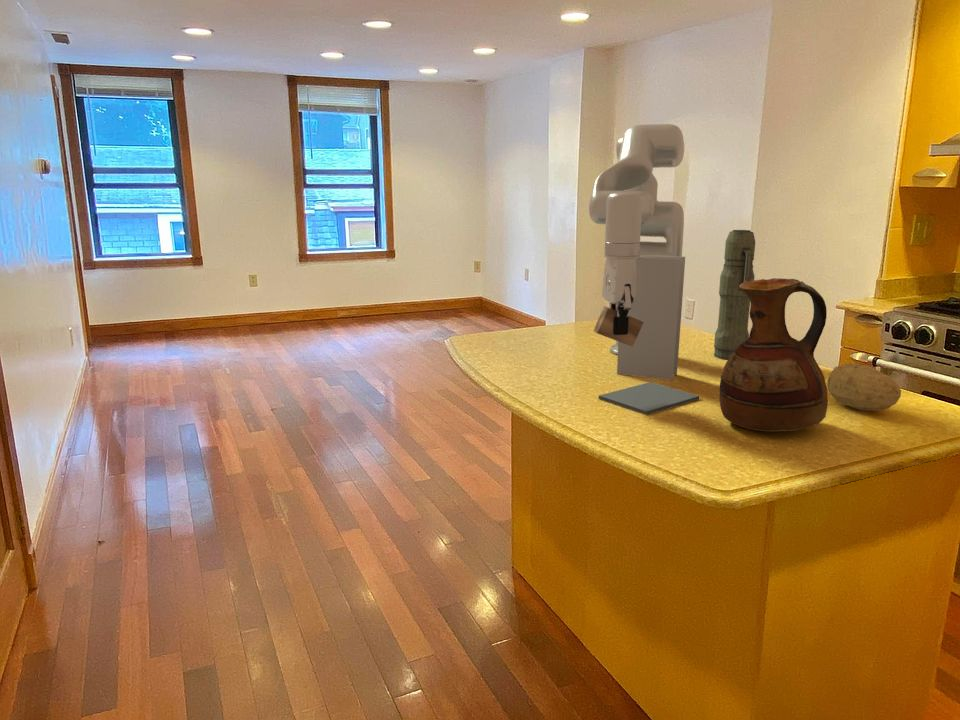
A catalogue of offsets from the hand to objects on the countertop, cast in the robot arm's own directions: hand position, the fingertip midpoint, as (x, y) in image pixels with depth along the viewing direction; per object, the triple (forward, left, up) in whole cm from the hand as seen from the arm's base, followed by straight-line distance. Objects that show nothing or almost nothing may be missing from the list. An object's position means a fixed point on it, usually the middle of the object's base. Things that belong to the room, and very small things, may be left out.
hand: (618, 332), depth 155 cm
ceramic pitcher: (-10, +32, -15) cm, 37 cm away
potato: (-35, +38, -15) cm, 54 cm away
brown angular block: (+1, -1, -1) cm, 2 cm away
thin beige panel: (-20, -8, -15) cm, 27 cm away
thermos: (-53, -6, -15) cm, 56 cm away
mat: (-4, +6, -15) cm, 17 cm away
